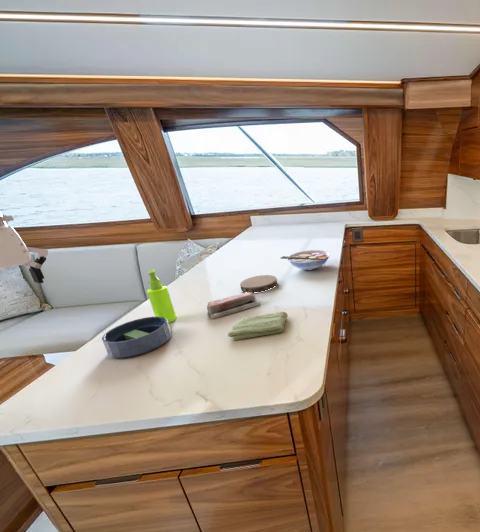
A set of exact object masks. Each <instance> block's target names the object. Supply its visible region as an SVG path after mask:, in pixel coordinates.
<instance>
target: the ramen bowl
mask: <svg viewBox="0 0 480 532" xmlns="http://www.w3.org/2000/svg"><path fill="white" fill-rule="evenodd" d="M330 255H331V254H330V251H327V250H321V249H315V250H313V249H312V250H310V249H309V250H302V251H298V252H295V253H292V254H290V255H288V256H284V255H282V257H280V259H281V260H287V261H288V262H289V263H290V264H291V265H292V266H293V267H295V268H297V269H300V270H304V269H306V270H305V271H310V270H309V269H314V270H316V269H318V268H320V267H322V266H324V265H325V264H326V262H327V261H328V260H329V258H330ZM315 268H316V269H315Z"/></svg>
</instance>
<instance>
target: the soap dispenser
mask: <svg viewBox="0 0 480 532" xmlns="http://www.w3.org/2000/svg"><path fill="white" fill-rule="evenodd" d="M147 273H148V275H149V278H150V279H149V280H148V281H147V282H148V285H149V289H147V290H146V293H147V296H148V299H149V302H150V305H151V308H152V311H153V314H154V317H164V318H166V319H167V320H168V323H171V322H174V321H176V319H177V315H176V312H175V309H174V305H173V303H172V298H171V295H170V292H169V290H168V286H166V285H163V284H162V281H161V278H159V277H157V275H156V270H155V269H154V268H153V269H149V270H147Z"/></svg>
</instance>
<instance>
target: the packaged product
mask: <svg viewBox="0 0 480 532" xmlns="http://www.w3.org/2000/svg"><path fill="white" fill-rule="evenodd" d="M254 294H255V293H251V292H247V293H244V292H242V293H239V294H235V295H230V296H227V297H224V298H219V299H215V300H212V301H209V302H207V306H206V310H207V312H208V315H210V317H211V319H213V320H214V319H217V318H221V317H223V316H227V315H230V314H235V313H239V312H242V311H243V310H247V309H251V308H254V307H258V306H261V301H260V300H259V299H258V298H257V297H256V296H255V295H254Z"/></svg>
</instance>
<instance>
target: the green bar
mask: <svg viewBox="0 0 480 532" xmlns="http://www.w3.org/2000/svg"><path fill="white" fill-rule="evenodd" d="M147 334H149V333H146V332H143V331H139V330H136V329H135V330H133V331H130V332H128V333H126V334H124V337H125V340H126V341H127V340H131V339H135V338H139V337H142V336H144V335H147Z"/></svg>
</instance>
